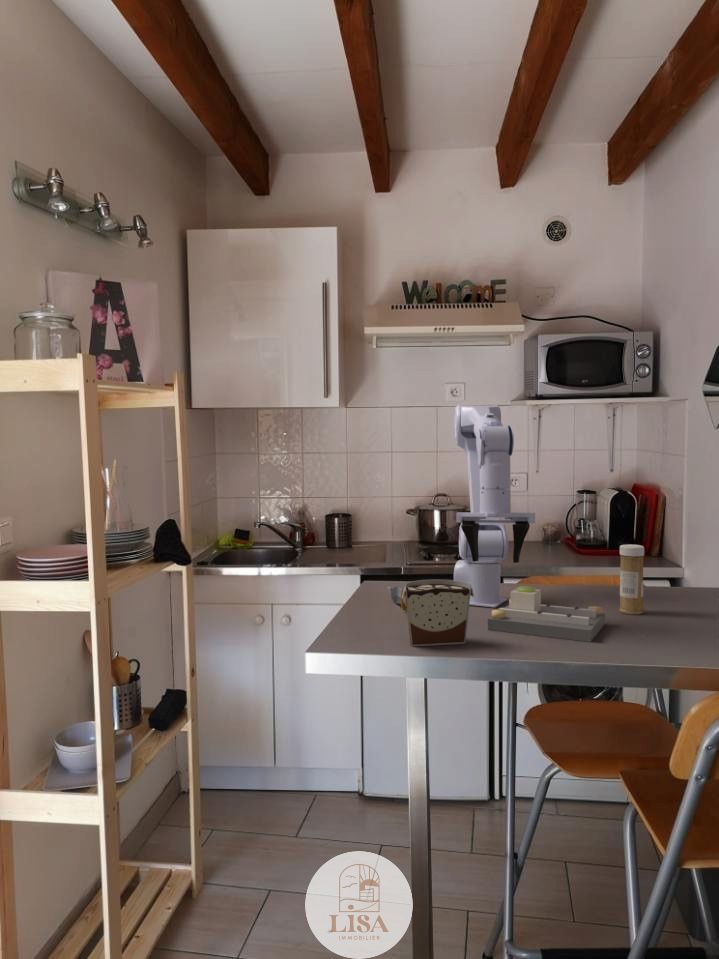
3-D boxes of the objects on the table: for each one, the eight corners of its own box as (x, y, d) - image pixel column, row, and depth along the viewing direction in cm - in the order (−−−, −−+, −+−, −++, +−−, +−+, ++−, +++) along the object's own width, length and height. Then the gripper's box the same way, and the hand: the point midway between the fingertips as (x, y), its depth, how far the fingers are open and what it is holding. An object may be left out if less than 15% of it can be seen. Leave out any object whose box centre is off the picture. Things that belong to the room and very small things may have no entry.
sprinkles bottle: (648, 613, 142) (649, 545, 141) (634, 616, 139) (634, 547, 138) (628, 609, 145) (629, 543, 145) (614, 611, 143) (614, 545, 142)
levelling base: (487, 629, 129) (487, 611, 129) (510, 613, 142) (510, 596, 142) (590, 642, 121) (590, 622, 121) (604, 623, 133) (605, 605, 133)
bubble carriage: (510, 613, 132) (510, 588, 132) (517, 608, 136) (517, 584, 136) (534, 616, 130) (534, 590, 130) (540, 610, 134) (540, 586, 134)
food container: (462, 633, 127) (462, 577, 126) (473, 643, 121) (474, 584, 120) (394, 637, 125) (394, 580, 124) (402, 646, 118) (402, 587, 118)
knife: (385, 597, 158) (385, 575, 157) (391, 597, 158) (391, 574, 158) (413, 624, 133) (413, 598, 133) (421, 624, 134) (420, 597, 133)
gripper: (452, 489, 134) (452, 562, 134) (531, 488, 129) (531, 564, 128) (461, 489, 140) (461, 559, 140) (536, 489, 135) (537, 561, 135)
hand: (495, 561), depth 135 cm, fingers open, 7 cm apart
